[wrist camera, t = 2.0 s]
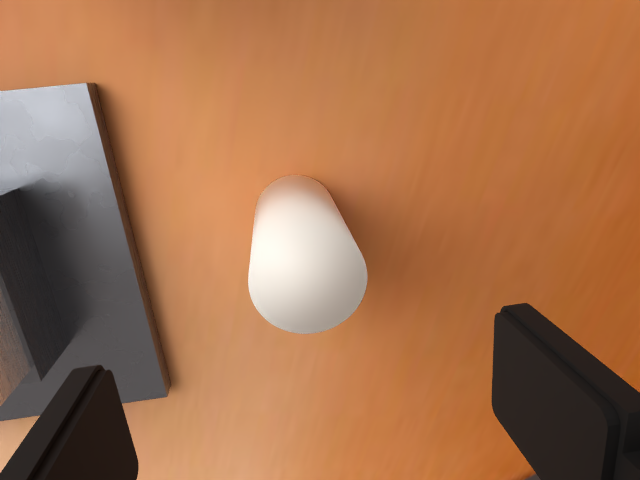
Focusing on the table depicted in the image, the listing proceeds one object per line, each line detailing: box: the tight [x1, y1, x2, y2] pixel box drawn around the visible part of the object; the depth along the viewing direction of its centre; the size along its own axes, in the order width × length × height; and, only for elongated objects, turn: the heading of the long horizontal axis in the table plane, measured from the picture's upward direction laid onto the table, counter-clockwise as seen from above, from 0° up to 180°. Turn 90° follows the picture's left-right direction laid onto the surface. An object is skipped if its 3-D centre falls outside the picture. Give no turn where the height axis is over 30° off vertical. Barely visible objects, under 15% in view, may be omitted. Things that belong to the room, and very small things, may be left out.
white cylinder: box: [248, 175, 367, 334], centre depth 19 cm, size 4×4×8 cm
